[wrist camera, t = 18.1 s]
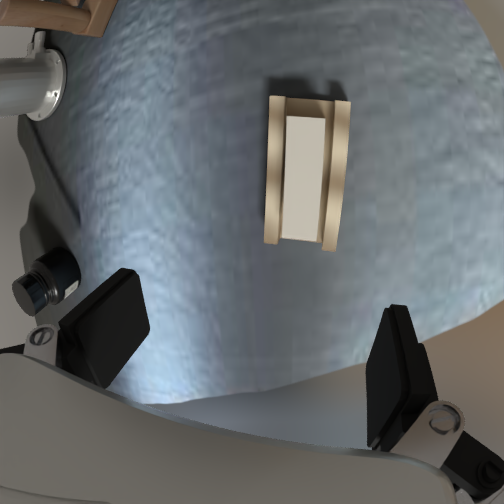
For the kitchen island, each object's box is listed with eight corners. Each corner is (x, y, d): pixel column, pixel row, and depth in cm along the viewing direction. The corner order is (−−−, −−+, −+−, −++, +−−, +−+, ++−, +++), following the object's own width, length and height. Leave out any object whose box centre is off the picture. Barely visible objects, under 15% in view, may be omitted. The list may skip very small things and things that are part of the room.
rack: (274, 97, 29) (269, 95, 27) (348, 103, 28) (350, 102, 25) (268, 233, 36) (263, 242, 34) (335, 242, 34) (335, 251, 32)
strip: (292, 117, 29) (286, 116, 25) (325, 119, 28) (325, 118, 24) (287, 223, 34) (281, 237, 30) (318, 226, 33) (316, 241, 29)
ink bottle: (59, 285, 52) (20, 316, 41) (46, 245, 48) (2, 273, 38) (89, 290, 49) (47, 326, 39) (75, 246, 46) (27, 278, 35)
